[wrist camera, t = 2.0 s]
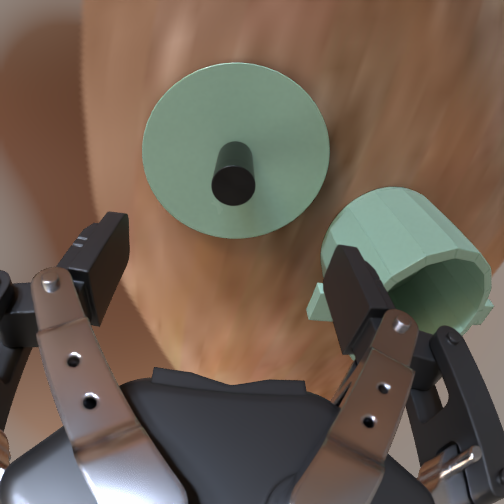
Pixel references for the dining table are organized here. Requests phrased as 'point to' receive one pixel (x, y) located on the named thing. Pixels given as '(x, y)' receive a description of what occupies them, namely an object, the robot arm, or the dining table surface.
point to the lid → (235, 150)
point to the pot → (411, 259)
